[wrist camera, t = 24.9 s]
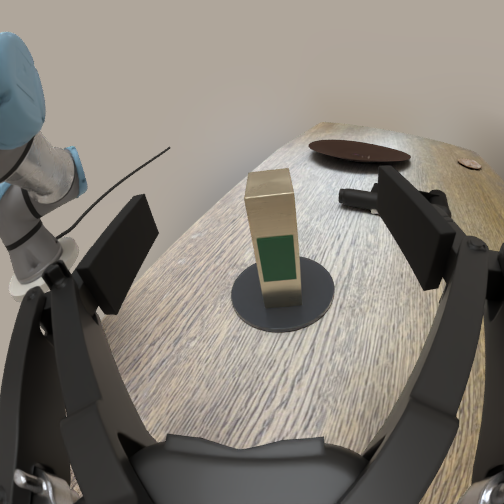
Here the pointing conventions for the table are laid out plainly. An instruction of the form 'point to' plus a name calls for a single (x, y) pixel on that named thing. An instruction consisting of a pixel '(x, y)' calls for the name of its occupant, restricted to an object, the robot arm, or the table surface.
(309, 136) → the table surface
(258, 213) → the tea tin
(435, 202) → the door handle
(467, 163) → the flatbread
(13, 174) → the robot arm
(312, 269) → the coaster
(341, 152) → the plate
